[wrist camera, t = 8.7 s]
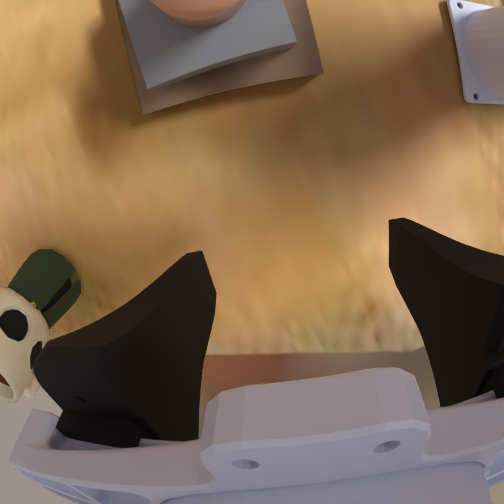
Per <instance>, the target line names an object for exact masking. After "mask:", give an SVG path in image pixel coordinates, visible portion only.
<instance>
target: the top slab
mask: <svg viewBox="0 0 504 504" xmlns="http://www.w3.org/2000/svg"><path fill="white" fill-rule="evenodd" d="M119 3H120V6H121V9H122V13H123V16H124V19H125V22H126V25H127V29H128V32H129V35H130V38H131V41H132V44H133V47H134V50H135V53H136V56H137V59H138V62H139V65H140V68H141V71H142V74H143V77H144V80H145V83H146V86H147V89H154V88H163V87H165V86H168V85H171V84H173V83H176V82H178V81H181V80H184V79H186V78H189V77H192V76H194V75H197V74H200V73H203V72H206V71H209V70H212V69H215V68H218V67H221V66H224V65H227V64H231V63H234V62H237V61H241V60H244V59H248V58H252V57H255V56H259V55H263V54H267V53H271V52H275V51H279V50H283V49H288V48H293V47H294V45H295V44H296V42H297V40H296V37H295V34H294V31H293V28H292V25H291V22H290V20H289V17H288V14H287V11H286V8H285V5H284V3H283V0H245V2H244V4H243V6H242V7H241V9H240V10H239V11H238V12H237V13H236V14H235V15H234V16H233V17H231V18H230V19H228V20H227V21H225V22H223V23H220V24H218V25H215V26H211V27H204V28H194V27H188V26H184V25H181V24H179V23H177V22H175V21H174V20H172V19H171V18H170V17H169V16H168V15H166V14H165V13H164V12H163V11H162V10H161V9H160V8H158V7H157V6H156V5H155V4H154V3H153V2H151V1H150V0H119Z"/></svg>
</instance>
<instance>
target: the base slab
mask: <svg viewBox="0 0 504 504" xmlns="http://www.w3.org/2000/svg"><path fill="white" fill-rule="evenodd" d="M283 3H284V5H285V8H286V11H287V14H288V17H289V20H290V22H291V25H292V28H293V31H294V34H295V37H296V40H297V42H296V44H295V45H294V47H293V48H288V49H283V50H279V51H275V52H271V53H267V54H263V55H259V56H255V57H252V58H248V59H244V60H241V61H237V62H234V63H231V64H227V65H224V66H221V67H218V68H215V69H212V70H209V71H206V72H203V73H200V74H197V75H194V76H192V77H189V78H186V79H184V80H181V81H178V82H176V83H173V84H171V85H168V86H165V87H163V88H154V89H147V86H146V83H145V80H144V77H143V74H142V71H141V68H140V65H139V62H138V59H137V56H136V53H135V50H134V47H133V44H132V41H131V38H130V35H129V32H128V29H127V25H126V22H125V19H124V16H123V13H122V9H121V6H120V3H119V0H116V5H117V10H118V15H119V19H120V24H121V28H122V33H123V37H124V41H125V45H126V50H127V54H128V58H129V62H130V66H131V70H132V74H133V78H134V82H135V85H136V89H137V93H138V97H139V100H140V104H141V108H142V111H143V115H145V114H148V113H152V112H155V111H158V110H161V109H164V108H167V107H171V106H174V105H177V104H181V103H184V102H188V101H191V100H195V99H198V98H202V97H206V96H210V95H214V94H218V93H222V92H226V91H230V90H235V89H239V88H244V87H249V86H253V85H258V84H264V83H269V82H274V81H280V80H286V79H292V78H299V77H306V76H313V75H320V74H323V70H322V65H321V60H320V56H319V51H318V47H317V43H316V38H315V34H314V30H313V26H312V22H311V18H310V14H309V10H308V7H307V3H306V0H283Z"/></svg>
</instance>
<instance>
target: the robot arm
mask: <svg viewBox="0 0 504 504" xmlns="http://www.w3.org/2000/svg"><path fill="white" fill-rule="evenodd" d="M457 3H458V4H459V5H460V8H459V7H458V6H457ZM447 7H448V11H449V15H450V19H451V23H452V28H453V32H454V37H455V42H456V47H457V53H458V59H459V65H460V71H461V79H462V87H463V96H464V99H465V101H466V102H468V103H481V104H504V6H500V7H492V6H487V5H483V4H479V3H474V2H469V1H464V0H447ZM474 94H476V99H474ZM389 268H390V270H391V273H392V276H393V278H394V281H395V284H396V286H397V288H398V290H399V292H400V294H401V296H402V298H403V300H404V301H405V303H406V305H407V307H408V309H409V311H410V313H411V315H412V317H413V319H414V321H415V323H416V325H417V327H418V329H419V331H420V333H421V336H422V339H423V342H424V345H425V347H426V351H427V354H428V357H429V360H430V364H431V367H432V371H433V375H434V378H435V382H436V387H437V392H438V396H439V401H440V407H437V408H428V409H426V408H425V405H424V402H423V399H422V396H421V393H420V390H419V387H418V384H417V382H416V379H415V376H414V375H412V374H410V373H408V372H405V371H404V370H402V369H400V368H395V367H390V368H369V369H364V370H360V371H354V372H348V373H343V374H337V375H330V376H325V377H317V378H311V379H303V380H295V381H287V382H279V383H269V384H258V385H247V386H243V387H239V388H235V389H230V390H226V391H223V392H221V393H219V394H218V395H217V396H216V397H215V398H213V399H212V400H211V401H210V402H209V403H208V404H207V408H206V414H205V420H204V425H203V431H202V437H201V439H199V437H198V435H199V434H198V433H199V403H200V388H201V379H202V369H203V363H204V358H205V354H206V350H207V345H208V341H209V337H210V333H211V329H212V324H213V320H214V315H215V307H216V290H215V287H214V285H213V282H212V279H211V276H210V273H209V270H208V267H207V264H206V261H205V258H204V255H203V252H202V251H197V252H192V253H187V254H186V255H184V256H183V257H181V258H180V259H179V260H178V261H177V262H176V263H174V264H173V265H172V266H171V267H170V268H169V269H168V270H167V271H165V272H164V273H163V274H162V275H161V276H160V277H159V278H158V279H156V280H155V281H154V282H153V283H152V284H150V285H149V286H148V287H147V288H146V289H144V290H143V291H142V292H141V293H139V294H138V295H137V296H136V297H134V298H133V299H131V300H130V301H129V302H127V303H126V304H124V305H123V306H121V307H120V308H118V309H117V310H115V311H113V312H111V313H110V314H108V315H106V316H105V317H103V318H101V319H99V320H98V321H96V322H94V323H92V324H90V325H88V326H85V327H83V328H81V329H79V330H76V331H74V332H72V333H69V334H66V335H64V336H61V337H58V338H55V339H53V340H49V341H48V342H47V343H46V344H45V346H44V347H43V349H42V350H41V352H40V353H39V355H38V356H37V358H36V360H35V361H34V364H33V372H34V375H35V377H36V379H37V381H38V382H39V384H40V385H41V386H42V388H43V389H44V390H45V391H46V392H47V393H48V395H49V396H50V397H51V398H52V399H53V400H54V401H55V402H56V403H57V404H58V405H59V406H60V408H61V409H63V412H62V414H61V416H60V417H59V416H57V415H55V414H53V413H50V412H45V411H41V410H37V409H32V411H31V413H30V414H29V417H28V418H27V420H26V422H25V424H24V427H23V429H22V431H21V433H20V435H19V437H18V439H17V441H16V443H15V446H14V448H13V450H12V452H11V454H10V457H9V459H8V462H9V464H11V465H12V466H13V467H14V468H16V469H17V470H19V471H20V472H21V473H23V474H24V475H25V476H27V477H28V478H30V479H31V480H33V481H34V482H36V483H37V484H39V485H40V486H42V487H43V488H45V489H46V490H48V491H50V492H51V493H53V494H55V495H57V496H60V497H62V498H65V499H67V500H70V501H73V502H75V503H78V504H492V500H491V496H490V492H489V488H491V487H493V486H495V485H496V484H498V483H500V482H502V481H504V256H502V255H498V254H494V253H490V252H486V251H483V250H480V249H477V248H474V247H471V246H468V245H465V244H463V243H460V242H458V241H456V240H453V239H451V238H448V237H446V236H444V235H442V234H440V233H437V232H435V231H433V230H431V229H429V228H427V227H425V226H423V225H421V224H418V223H416V222H414V221H412V220H409V219H406V218H398V219H391V220H389Z"/></svg>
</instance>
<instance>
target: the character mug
mask: <svg viewBox="0 0 504 504" xmlns="http://www.w3.org/2000/svg"><path fill="white" fill-rule="evenodd" d="M74 272H75V269H74V267H73V266H72V265H71V264H70V262H69V261H68V260H67V259H66V258H65V257H64V256H62V255H61V254H59V253H57V252H55V251H54V250H52V249H39V250H37V251H36V252H34V253H32V254H31V255H30V256H29V257H28V259H27V260H26V261H25V262H24V264H23V265H22V266H21V268H20V269H19V270H18V272H17V273H16V275H15V276H14V278H13V279H12V281H11V282H10V284H9V286H8V288H5V287H0V399H2V400H4V401H6V402H9V403H16V402H17V401H18V399H19V398H20V397H21V395H22V394H23V395H24V396H25V397H26V398H28V399H31V398H33V397H34V396H35V394H36V392H37V390H38V388H39V387H40V384H39V382H38V381H37V379H36V377H35V375H34V372H33V364H34V361H35V360H36V358H37V356H38V355H39V353H40V352H41V350H42V349H43V347H44V346H45V344H46V343H47V342H48V341H49V340H50V332H49V329H50V328H51V327H52V326H53V325H54V324H55V323H56V322H57V321H58V320H59V319H60V318H61V317H62V316H63V315H64V314H65V313H66V312H67V311H68V310H69V308H70V307H71V306H72V305H73V304H74V303H75V302H76V300H77V298H78V297H79V295H80V293H81V282H80V280H78V281H77V282H76V283H75V284H74V285H73V286H71V281H70V279H69V277H70V276H71V275H72V274H73V273H74Z"/></svg>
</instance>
